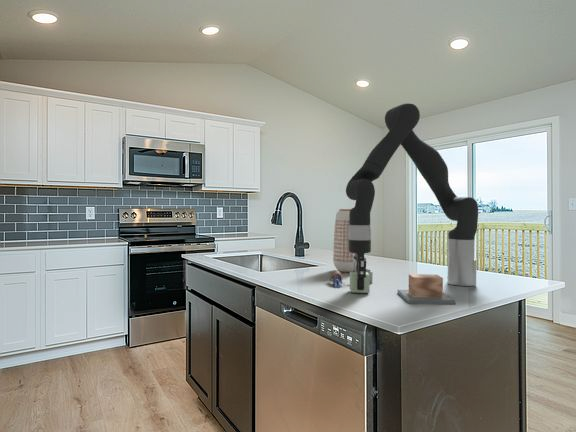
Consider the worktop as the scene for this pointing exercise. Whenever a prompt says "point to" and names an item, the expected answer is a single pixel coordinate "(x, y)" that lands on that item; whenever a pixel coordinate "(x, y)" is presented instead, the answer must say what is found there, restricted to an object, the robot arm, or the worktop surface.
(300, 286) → the worktop surface
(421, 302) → the baseplate
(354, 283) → the top block
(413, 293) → the base block
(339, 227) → the patterned vase
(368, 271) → the lighter
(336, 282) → the figurine
